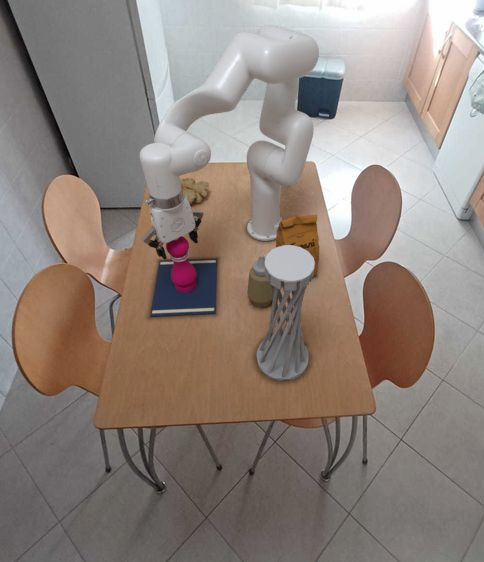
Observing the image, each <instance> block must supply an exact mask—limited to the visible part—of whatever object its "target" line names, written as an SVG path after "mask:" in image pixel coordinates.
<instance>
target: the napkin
mask: <svg viewBox="0 0 484 562" xmlns="http://www.w3.org/2000/svg"><path fill="white" fill-rule="evenodd" d="M188 261H189V262H190V263H191V264H192V265H193V267H194V268H195V270H196V274H197V275H196V287H195V289H193V290H192V291H190V292H187V293H183V292H179V291H178V290H177V289H176V287H175V283H174V282H173V281H172V279H171V271H172V268H173V265H174V263H173V260H172V259H165V260H164V259H160V260H159V262H158V268H157V274H156V280H155V284H154V285H155V286H154V292H153V296H152V303H151V309H150V314H149V317H150V318H157V317H158V318H159V317H177V316H178V317H179V316H181V317H182V316H201V315H203V316H204V315H216V311H217V281H218V280H217V279H218V276H217V275H218V258H214V257H213V258H188Z"/></svg>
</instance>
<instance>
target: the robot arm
mask: <svg viewBox="0 0 484 562" xmlns="http://www.w3.org/2000/svg"><path fill="white" fill-rule="evenodd" d="M319 57H320V49H319V44H318V43H317V41H316V39H314V37H312V36H310V35H308V34H305V33H301V32H299V31H295V30H292V29H289V28H286V27H282V26H279V25H274V24H265V25H262V26H260V27H259V28H258V30H257V32H256V33H254V32H250V31H249V32H248V31H240V32H237V33H236V34H235V35H234V36H233V37H232V39H231V40H230V41H229V43H228V44H227V46H226V48H225V49H224V51H223V53H221V56H220V57H219V59H218V61H217V62H216V64H215V66H214V67H213V69H212V70H211V72H210V73H209V74H208V76H207V78H206V80H205V82H203V83H202V84H201V85H200V86H199V87H197V88H195V89H193V90H191V91H189V92H188V93H187V94H185V95H183V96H182V97H180V98H179V99H178V100H176V101H175V102H174V103H173V104H172V105H171V106H170V107H169V108H168V110H167V111H166V113H165V114H164V116H163V118H162V119H161V121H160V122H159V124H158V126H157V129H156V130H155V133H154V140H153V141H154V142H153V143H149V144H147V145H145V146H144V147H142V148H141V150H140V152H139V160H140V164H141V168H142V172H143V175H144V180H145V184H146V188H147V190H148V194H147V195H148V198H147V199H145V200H144V202H145V205H146V206H149V219H150V224H151V227H150V228H149V229H148V230H147V231H146V232H145V233H144V234H143V236H141V238H140V239H141V240H142V242H143V243H144V244H146V245H148V246H149V247H150V248H153V249H155V252H156V254H157V256H158V257H159V258H162V260H167V257H168V256H167V254H166V250H165V247H164V244H166V243H168V242H170V241H173V240H175V239H177V238H179V237H181V236H183V237H184V236H185V235H187V234H188V237H189V239H190V240H191V241H192V242H193V243H194V244H195V245H197V244H199V241H198V238H199V234H198V231H199V229H200V228H199V227H200V225H201V224H202V219H203V217H204V212H203V211H202V210H201V209H192V206H191V204H189V201H188V199H187V197H186V196H185V195H184V194H183V193H182V188H181V182H180V179H181V178H180V176H183V175H187V174H191V173H195V172H198V171H200V170H203V169H204V168H205V167H206V166H207V165H209V163H210V161H211V158H212V150H211V146H210V145H209V144H208V143H207V142H206V141H205V140H203V139H201V138H200V137H198V136H196V135H195V134H192V133H191V132H188V130H189V128H190V127H191V126H192V125H193V123H195V122H196V121H198V120H199V119H201V118H204V117H206V116H210V115H215V114H222V113H229V112H232V111H234V110H235V109H236V107H237V106H238V104H239V103H240V101H241V100H242V98H243V96H244V95H245V93H246V92H247V90H248V88H249V87H250V85H252V82H253V81H254V80H255V79H256V80H258V81H261V82H264V83H266V86H265V87H266V88H265V93H264V98H263V103H262V107H261V111H260V117H259V125H258V128H259V131H260V132H261V134H262V135H264V136H265V137H267V138H268V139H270V140H273V141H275V142H277V143H279V144H281V145H283V146H284V148H283V147H282V146H279V145H277V144H275V143H273V142H270V141H268V140H264V139H263V140H262V139H261V140H256V141H254V142H252V143H251V144H250V146H249V147H248V150H247V153H246V165H247V170H248V174H249V180H250V213H251V219H250V220H249V221H248V223H247V226H246V230H247V233H248V235H249V236H250V237H251V238H253V239H255V240H257V241H261V242H270V241H274V240H276V236H277V229H278V227H279V223H280V221H282V220H283V217H282V216H281V196H282V187H283V188H293V187H294V186H296V184H297V183H299V181H300V179H301V177H302V174H303V172H304V169H305V165H306V162H307V159H308V155H309V151H310V148H311V145H312V142H313V137H314V131H315V130H314V129H315V128H314V127H315V126H314V121H313V120H312V118H311V117H310V116H309V115H308V114H306V113H305V112H302V111H300V110H298V109H296V106H295V105H296V102H297V96H298V93H299V92H298V91H299V79H300V78H301V79H302V78H304V77H306V76H307V75H309V74H310V73H312V71H313V70H314V69H315V68H316V66H317V63H318V62H319ZM152 238H153V239H152Z"/></svg>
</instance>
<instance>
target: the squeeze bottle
mask: <svg viewBox="0 0 484 562" xmlns="http://www.w3.org/2000/svg"><path fill="white" fill-rule="evenodd" d="M257 258H258V259H257V260H255V261H254V262H253V265H252V267H251V268H250V269H249V274H248V282H247V291H246V294H247V296H248V298H249V300H250V302H251V303H252V305H254V306H255V307H257V308H266V307H268V306H270V304H271V303H272V302H273V298H272V293H271V289H270V284H269V282H268V280H267V278H266V276H265V259H266V257H265V255H264V254H263V253H261V254H259V256H258V257H257Z"/></svg>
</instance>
